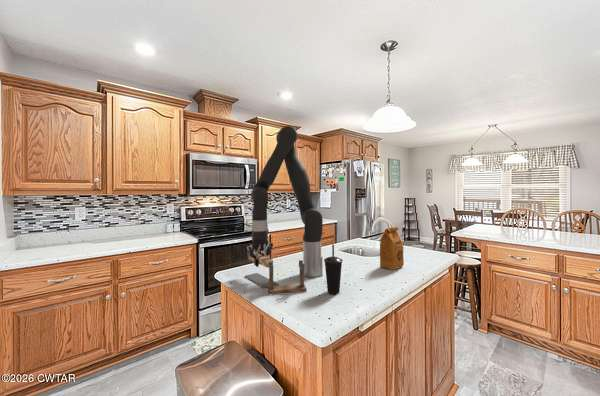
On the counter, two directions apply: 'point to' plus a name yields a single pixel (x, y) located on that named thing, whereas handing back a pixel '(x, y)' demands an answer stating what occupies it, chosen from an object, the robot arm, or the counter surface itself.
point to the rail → (262, 260)
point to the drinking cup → (333, 273)
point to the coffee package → (391, 249)
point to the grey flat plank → (260, 280)
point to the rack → (287, 288)
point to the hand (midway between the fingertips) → (260, 265)
